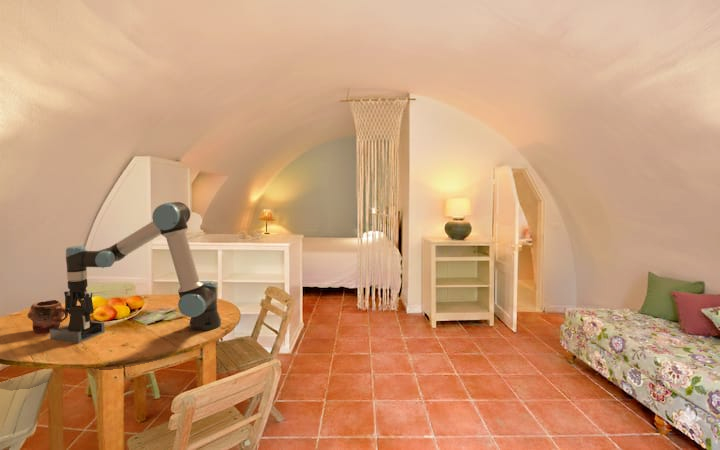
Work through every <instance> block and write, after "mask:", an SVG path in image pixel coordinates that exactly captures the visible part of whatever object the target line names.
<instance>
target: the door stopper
mask: <svg viewBox="0 0 720 450" xmlns="http://www.w3.org/2000/svg"><path fill="white" fill-rule="evenodd" d="M83 315H84V313H83V310H82V307H81V304H80V305H74V306H72V307H71V315H70V316H69V321H68V324H69V326H68V330H73V331H81V333H83V332H85V331H87V330H89V329H91V328H93V325H92V322H91V321H92V320H91V318H90V321H89V324H90V327H89V328H87V329H83Z"/></svg>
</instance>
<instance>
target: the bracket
mask: <svg viewBox="0 0 720 450" xmlns="http://www.w3.org/2000/svg"><path fill="white" fill-rule="evenodd" d="M91 322H92V325H93V328H91V329H89V330H87V331H85V332H83V333H81V331H73V330H68V326H69V323H68V324H65V325H64V326H60V327H59V328H57V329H56V328H52V329H50V333H49V340H51V341H58V342H64V343H65V342H66V343H73V344H80V343H83V342H85V341H87V340H90V339H93V338H95V337H96V336H99V335H102V334H104V333H105V332H106V330H105V322H104V321H96V320H91Z"/></svg>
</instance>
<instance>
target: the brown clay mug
mask: <svg viewBox="0 0 720 450" xmlns="http://www.w3.org/2000/svg"><path fill="white" fill-rule="evenodd" d="M68 316H69V313H68V312H65V307H63V305H62V303H61V301H59V300H56V299H52V300H45V301H38V302H35V303H32V305H30V309H29V310H28V314H27V318H28V319H29V320H31V321H32V330H33V332H34V333H35V334H39V335H40V334H41V335H43V334H50V329H52V328H56V329H57V328H60V327H61V326H60V325H61V323H63V322H64V321H65V320H66V319H67V318H68Z"/></svg>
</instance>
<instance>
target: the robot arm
mask: <svg viewBox="0 0 720 450" xmlns="http://www.w3.org/2000/svg"><path fill="white" fill-rule="evenodd" d="M190 218H191V210H190V208H189V207H188V205H186V203H183V202H180V201H175V202H174V201H173V202H166V203H162V204H160V205H158V206H156V208H155V209H154V210H153V212H152V215H151V219H152V221H150V222H149V223H147V224H145V225H144V226H142V227H141V228H139V229H138V230H136V231H134V232H133V233H130V234H129V235H128V236H126V237H124V238H123V239H121V240H120V241H118V242H116V243H115V244H113V245H110V246H109V247H105V248H102V249H99V250H87V249H86V246H82V245H75V246H74V245H73V246H69V247H66V249H65V261H66V279H67V288H68V290H66V291H64V293H63V294H64V308H65V312H68V316H69V317H70V315H71V307H72V306H74V305H77V304H78V303H79V304H80V306H81V307H82V310H83V313H84V315H83V329H87V328H89V327H90V324H89V321H90V319H91V314H94V313H95V312H94V305H93V292H88V290H87V287H88V279H87V278H88V272H87V268H103V269H104V268H109V267H110V268H111V267H112V266H113V265H114V264H115V262H116V263H117V262H119V261H121V260H123V259H124V258H125V257H126V256H128V255H130V254H131V253H133V252H134V251H136V250H138V249H139V248H141V247H143V246H144V245H146V244H147V243H150V242H151V241H153V240H155V239H156V238H158V237H159V236H163V237H164V238H165V239H166V242H167V246H168V249H169V253H170V256H171V260H172V263H173V266H174V270H175V273H176V276H177V279H178V284H179V289H178V290H177V293H178V296H179V299H178V303H177V308H178V311H180V313H181V314H182V315H183V316H185V317H188V318H190V320H189V326H188V327H189V329H191V330H193V331H201V332H203V331H209V330H213V329H217V328H219V327H220V326H221V324H222V318H221V316H220V314H219V312H218V311H219V310H218V292H217V291H218V290H217V289H218V286H217V282H215V281H213V280H200V279H199V275H198V272H197V271H198V270H197V268H196V265H195V262H194V258H193V255H192V251H191V248H190V244H189V240H188V237H187V233H186V232H187V231H188V230H189V229H188V224H187V223H188V222H189V220H190Z"/></svg>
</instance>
